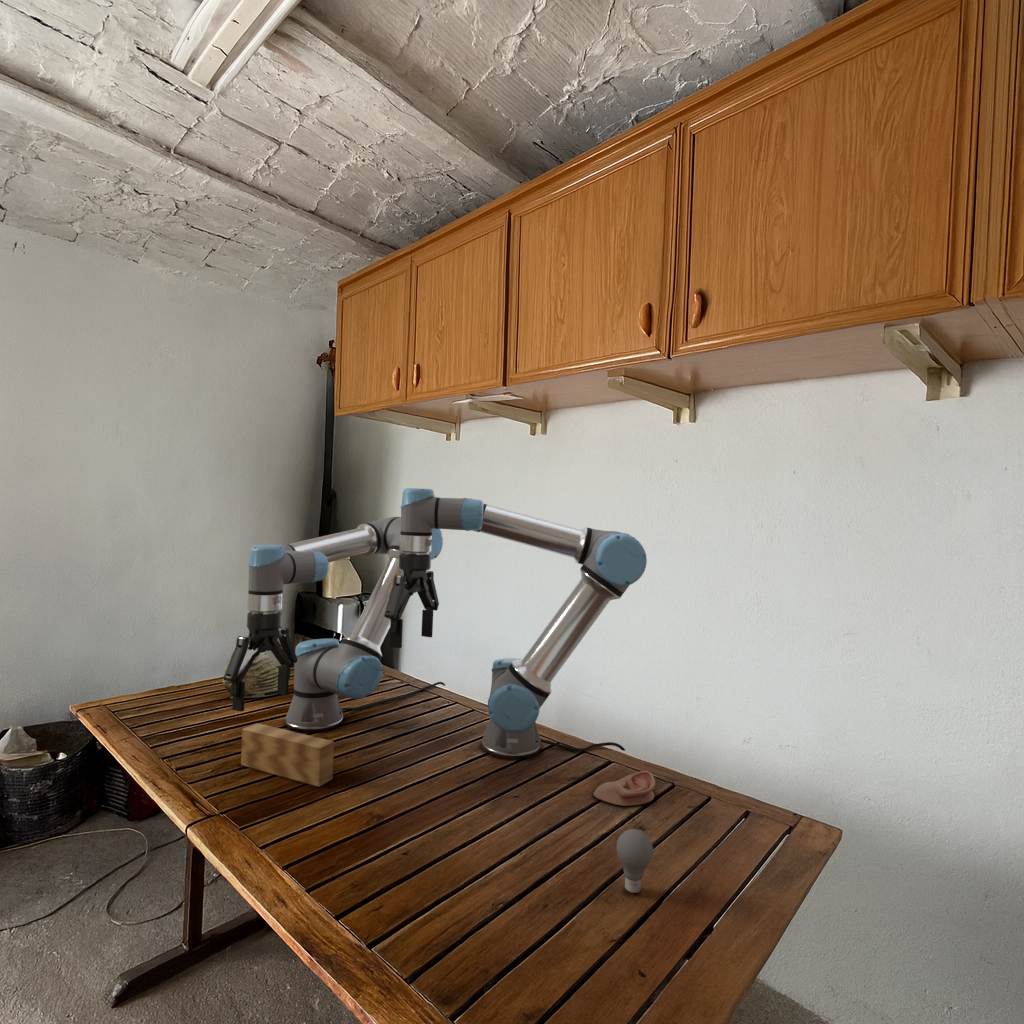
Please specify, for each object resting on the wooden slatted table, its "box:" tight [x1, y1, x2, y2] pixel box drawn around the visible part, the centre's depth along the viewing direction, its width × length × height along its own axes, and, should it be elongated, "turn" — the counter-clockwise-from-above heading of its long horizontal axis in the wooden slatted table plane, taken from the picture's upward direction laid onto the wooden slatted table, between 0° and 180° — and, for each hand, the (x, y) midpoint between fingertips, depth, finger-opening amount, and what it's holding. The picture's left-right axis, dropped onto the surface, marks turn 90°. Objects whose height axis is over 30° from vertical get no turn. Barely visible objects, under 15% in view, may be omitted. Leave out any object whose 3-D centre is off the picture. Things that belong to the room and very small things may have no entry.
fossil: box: [222, 649, 278, 699], centre depth 198 cm, size 9×18×15 cm, turn 132°
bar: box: [240, 722, 335, 788], centre depth 145 cm, size 23×4×8 cm, turn 66°
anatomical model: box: [593, 770, 656, 807], centre depth 141 cm, size 13×4×12 cm
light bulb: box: [615, 828, 654, 894], centre depth 106 cm, size 6×6×10 cm
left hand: (261, 702), depth 148 cm, fingers open, 13 cm apart
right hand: (411, 641), depth 151 cm, fingers open, 13 cm apart
